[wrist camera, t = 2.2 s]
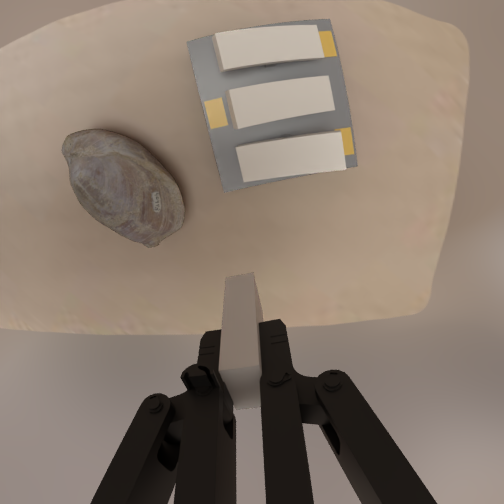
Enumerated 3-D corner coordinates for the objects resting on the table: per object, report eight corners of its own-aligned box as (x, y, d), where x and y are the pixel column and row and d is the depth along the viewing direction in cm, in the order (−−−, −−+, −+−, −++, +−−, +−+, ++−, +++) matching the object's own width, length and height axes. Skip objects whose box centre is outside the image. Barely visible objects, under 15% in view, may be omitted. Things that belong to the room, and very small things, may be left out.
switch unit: (225, 185, 35) (223, 197, 31) (190, 47, 27) (183, 38, 23) (348, 161, 34) (363, 169, 30) (322, 25, 27) (334, 14, 22)
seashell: (188, 251, 34) (113, 163, 21) (108, 256, 36) (27, 190, 23) (200, 184, 38) (146, 92, 25) (125, 196, 40) (62, 124, 27)
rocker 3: (247, 177, 31) (243, 182, 30) (240, 144, 29) (235, 147, 28) (345, 165, 28) (346, 169, 27) (340, 129, 27) (341, 132, 25)
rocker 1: (219, 72, 24) (223, 69, 22) (211, 38, 22) (214, 33, 21) (315, 60, 26) (324, 57, 24) (308, 28, 24) (316, 24, 23)
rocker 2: (232, 129, 26) (238, 129, 25) (224, 92, 25) (228, 89, 23) (326, 110, 28) (335, 110, 27) (319, 77, 26) (328, 75, 25)
